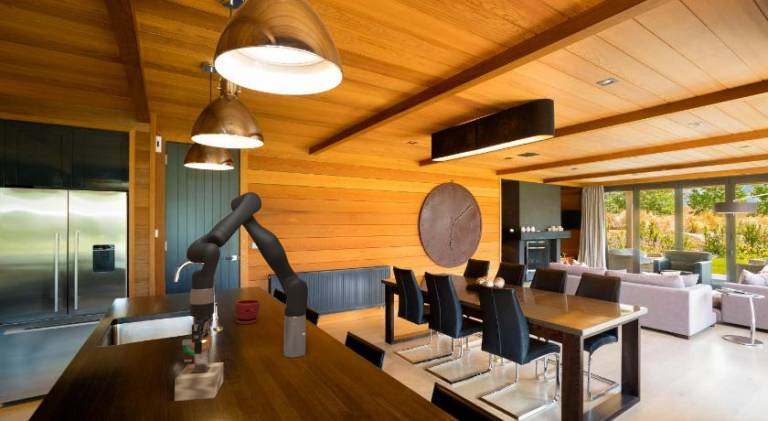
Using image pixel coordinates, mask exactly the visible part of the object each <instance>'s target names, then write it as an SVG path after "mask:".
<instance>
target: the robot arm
mask: <svg viewBox="0 0 768 421" xmlns="http://www.w3.org/2000/svg"><path fill="white" fill-rule="evenodd" d="M262 203H263V202H262V199H261V197H260V196H259V194H257V193H256V192H253V191H248V192H245V193H242V194H240V195H239V196H237V197H235V198H233V199H232V200H231V202H230V208H231V212H230V213H229V214H227V215H226V216H225V217H224V218H222V219H221V220H220V221H219V222H218V223H216V224H215V225H214V227H213V228H212V229H211V230H210V231H209V232H208V233H206V234H205V235H202V236H201V237H199V238H197V239H196V240H195V241H193V242H192V243H191V244H190V245H189V246H188V248H187V250H186V258H187V260H188V261H189V262H190V263H193V264H203V265H202V268H201V269H199V270H195V271H193V272H192V273H191V284H190V286H191V287H190V289H191V290H190V297H189V316H190V317H191V318H192V317H193V318H195V320H194V322H193V324H192V325H191V338H192V342H194V353H195V354H200V353H201V352H202V341H203V336H208V335H209V334H210V332H211V328H212V326H211V324H212V322H211V321H212V316H213V315H214V313H215V297H216V296H215V295H216V294H215V274H216V271H217V267H218V264H219V261H220V259H221V258H220V257H221V250H220V248H222V247H224V246H225V245H226V243H228V242H229V240H230V239H231V238H232V237H233V235H234V234H235V233H236V232H237V231H238V230H239V229H240V228H241V226H242V227H243V228H244V230H246V232H247V233H248V235H249V237H250V238H251V239H252V241H253V243H254V244H255V246H256V247H257V250H258V251H259V253H260V254H261V256H262V258H263V259H264V261H265V262H266V263H267V265H268V266H269V267H270V269H271V271H273V273H274V274H275V275H276V277H277V280H278V281H279V284H280V285H281V288H282V290H283V293H284V294H285V296H286V306H285V308H284V311H283V312H284V315H283V316H284V317H283V318H284V319H283V325H284V326H283V356H284V357H286V358H298V357H302V356H303V357H304V356H306V337H307V336H306V334H307V333H306V328H307V327H306V319H307V318H306V317H307V315H306V314H307V308H308V304H309V302H308V301H309V300H308V298H309V287H308V284H307V281H305V280H304V279H302V278H300V277H299V276H298V275H297V273H296V272H295V271H294V270H293V267H292V266H291V263H290V261H289V259H288V256H287V253H286V250H285V248H284V246H283V245H282V243H281V241H280V240H279V238H278V236H277V235H276V234H274V233H273V232H272V231H270V230H269V229H267V228H265V227H264V226H263V225H261V223H259V222H258V220H257V219H256V218H255V216H254V215H255V214H256V213H258V212H259V211H260V210H261V209H262ZM197 336H198V338H197ZM209 336H210V335H209Z"/></svg>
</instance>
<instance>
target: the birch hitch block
mask: <svg viewBox="0 0 768 421" xmlns="http://www.w3.org/2000/svg"><path fill="white" fill-rule="evenodd" d="M223 382H224V362H209V363H208V362H207V367H206V368H203V369H195V368H194V363H189V364H186V366H185V367H184V368H183V369H182V370H181V372H179V374H178V375H177V376H176V378H175V379H174V402H178V401H180V402H181V401H193V400H205V399H206V400H207V399H215V397H216V396H217V394H218V392H219V390H220V388H221V386H222V385H223Z"/></svg>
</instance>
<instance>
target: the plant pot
mask: <svg viewBox="0 0 768 421" xmlns="http://www.w3.org/2000/svg"><path fill="white" fill-rule="evenodd" d="M260 307H261V301H260V300H257V299H243V300H237V301H236V302H235V315H236V317H237V318H236V319H235V322H236V323H237V324H240V325H251V324H254V323H256V322H257V321H258V315H259V313H260Z"/></svg>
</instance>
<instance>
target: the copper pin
mask: <svg viewBox="0 0 768 421" xmlns="http://www.w3.org/2000/svg"><path fill="white" fill-rule="evenodd" d="M197 338H198V337H197ZM212 341H213V338H212V336H211V335H209V336H203V341H202V352H201V353H200V354H195V359H194V363H193V364H194V368H195V369H203V368H206V367H207V363H208V359H209V358H208V356H209V355H208V353H209V352H208V351H209V350H208V349H211V348H212V347H213V346H212V343H213V342H212ZM191 350H193V351H194V342H192V339H191Z"/></svg>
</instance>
